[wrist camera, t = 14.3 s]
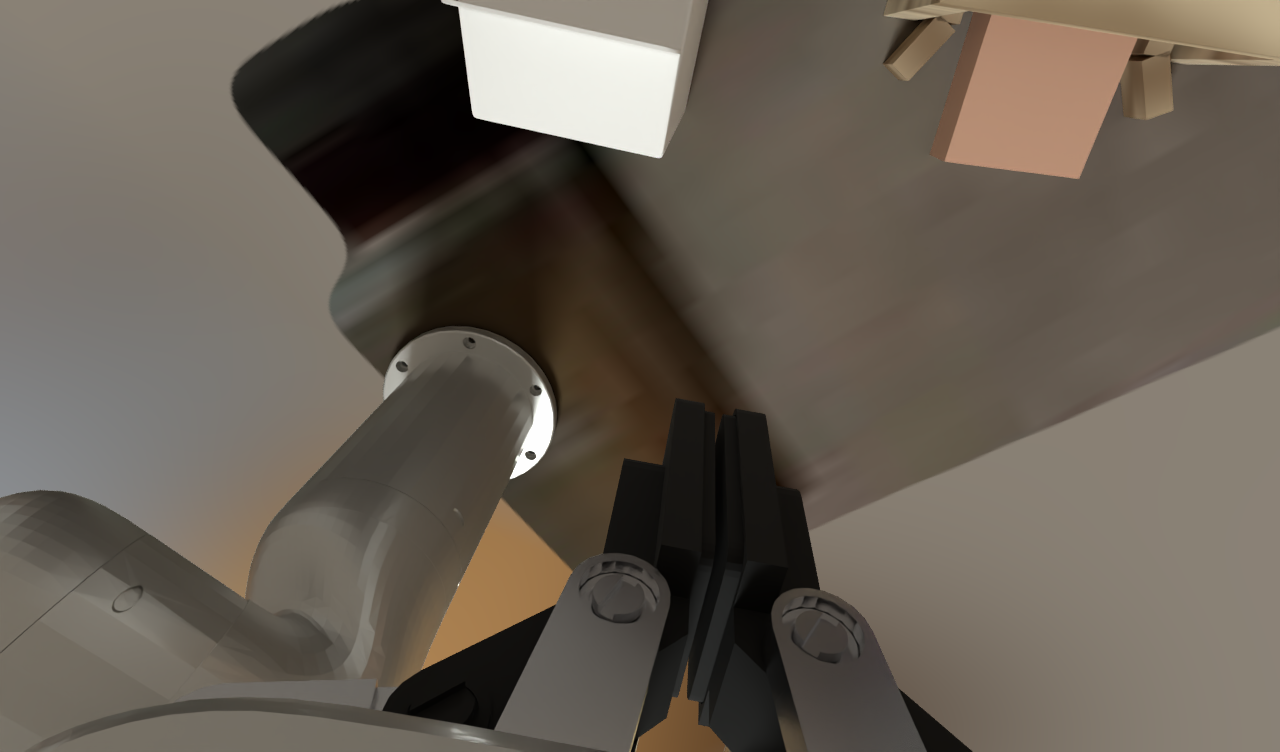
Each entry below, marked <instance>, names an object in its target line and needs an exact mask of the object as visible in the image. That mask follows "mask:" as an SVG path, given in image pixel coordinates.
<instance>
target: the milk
mask: <svg viewBox="0 0 1280 752" xmlns="http://www.w3.org/2000/svg"><path fill="white" fill-rule="evenodd" d="M441 2H442V3H445V4H448V5H453V6H457V7H458V8H459V15H460V23H461V31H462V39H463V46H464V54H465V62H466V69H467V77H468V85H469V92H470V100H471V108H472V113H473V116H474V117H475V118H478V119H482V120H486V121H491V122H496V123H500V124H505V125H509V126H514V127H518V128H523V129H528V130H532V131H537V132H541V133H546V134H550V135H555V136H559V137H564V138H569V139H573V140H578V141H582V142H587V143H591V144H596V145H600V146H605V147H610V148H614V149H619V150H623V151H628V152H632V153H637V154H642V155H646V156H651V157H655V158H661V157H662V156H663V154H664V152H665V150H666V148H667V146H668V144H669V142H670V140H671V138H672V136H673V134H674V132H675V130H676V128H677V126H678V124H679V122H680V120H681V118H682V116H683V114H684V112H685V109H686V105H687V100H688V95H689V91H690V86H691V81H692V76H693V72H694V67H695V62H696V57H697V53H698V48H699V43H700V38H701V34H702V29H703V24H704V19H705V15H706V10H707V5H708V0H458V1H456V0H441Z"/></svg>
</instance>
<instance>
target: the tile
mask: <svg viewBox="0 0 1280 752" xmlns="http://www.w3.org/2000/svg"><path fill="white" fill-rule="evenodd" d="M1137 39H1138V38H1135V37H1128V36H1122V35H1116V34H1110V33H1103V32H1097V31H1091V30H1085V29H1078V28H1072V27H1066V26H1060V25H1054V24H1047V23H1041V22H1035V21H1029V20H1022V19H1016V18H1010V17H1004V16H997V15H991V14H985V13H979V12H973V16H972V19H971V22H970V25H969V29H968V32H967V35H966V39H965V42H964V45H963V48H962V52H961V55H960V58H959V61H958V65H957V68H956V71H955V74H954V78H953V81H952V84H951V87H950V91H949V94H948V97H947V100H946V104H945V107H944V110H943V113H942V117H941V120H940V123H939V126H938V130H937V133H936V136H935V139H934V143H933V146H932V149H931V152H930V155H931V156H934V157H936V158H938V159H940V160H942V161H945V162H952V163H960V164H968V165H975V166H983V167H991V168H999V169H1006V170H1014V171H1022V172H1029V173H1037V174H1045V175H1053V176H1060V177H1068V178H1076V179H1079V177H1080V175H1081V172H1082V170H1083V168H1084V165H1085V163H1086V160H1087V158H1088V156H1089V153H1090V151H1091V148H1092V146H1093V144H1094V141H1095V139H1096V137H1097V134H1098V132H1099V129H1100V127H1101V125H1102V122H1103V120H1104V117H1105V115H1106V113H1107V110H1108V108H1109V105H1110V103H1111V101H1112V98H1113V96H1114V94H1115V91H1116V89H1117V86H1118V84H1119V82H1120V79H1121V77H1122V74H1123V72H1124V70H1125V67H1126V65H1127V62H1128V60H1129V58H1130V55H1131V53H1132V51H1133V48H1134V46H1135V43H1136V41H1137Z"/></svg>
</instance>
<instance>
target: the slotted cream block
mask: <svg viewBox="0 0 1280 752" xmlns="http://www.w3.org/2000/svg"><path fill="white" fill-rule="evenodd" d="M966 11H972V12H979V13H985V14H991V15H997V16H1004V17H1010V18H1016V19H1022V20H1029V21H1035V22H1041V23H1047V24H1054V25H1060V26H1066V27H1072V28H1078V29H1085V30H1091V31H1097V32H1103V33H1110V34H1116V35H1122V36H1128V37H1135V38H1138V39H1137V41H1136V43H1135V46H1134V48H1133V51H1132V53H1131V55H1130V58H1129V60H1128V62H1127V65H1126V67H1125V70H1124V72H1123V74H1122V77H1121V79H1120V81H1121V91H1122V102H1123V113H1124V117H1130V118H1136V119H1143V120H1148V119H1151V118H1153V117H1156V116H1159V115H1162V114H1164V113H1167V112H1170V111H1173V96H1172V80H1171V64H1170V62H1174V63H1180V64H1203V65H1258V66H1280V0H888V1H887V4H886V8H885V11H884V15H883V16H888V17H895V18H901V19H907V20H913V21H914V20H920V19H924V20H923V21H922V22H921V23H920V24H919V25H918V26H917V27H916V28H915V29H914V31H913V32H912V33H911V34H910V35H909V36H908V37H907V38H906V39H905V40H904V42H903V43H902V44H901V45H900V46H899V47H898V48H897V49H896V50H895V51H894V53H893V54H892V55H891V56H890V57H889V58H888V59H887V60H886V61H885V62H884V63H883V65H884V66H885V67H886V68H887V69H888V70H889V71H890V72H891V73H892V74H893V75H894V76H895V77H896V78H897V79H898V80H904V81H909V80H910V79H911V78H912V77H913V76H914V75H915V73H916V72H917V71H918V70H919V69H920V68H921V67H922V66H923V65H924V64H925V63H926V62H927V61H928V60H929V59H930V58H931V57H932V55H933V54H934V53H935V52H936V51H937V50H938V49H939V48H940V47H941V46H942V45H943V44H944V43H945V42H946V41H947V40H948V39H949V37H950V36H951V35H952V34H953V33H954V32H955V30H954V29H953V28H952V27H951V26H950V25H957V24H960V22H961V19H962V16H963V13H964V12H966Z"/></svg>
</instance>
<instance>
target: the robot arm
mask: <svg viewBox="0 0 1280 752" xmlns="http://www.w3.org/2000/svg"><path fill="white" fill-rule="evenodd" d="M471 338H473V339H474V340H475V341H473V340H472V339H471ZM536 385H537V386H539V387H537V386H536ZM383 400H384V401H383V403H382V404H381V405H380V406H379V407H378V408H377V409H376V410H375V411H374V412H373V413H372V414H371V415H370V416H369V417H368V418H367V419H366V420H365V421H364V423H363V424H362V425H361V426H360V427H359V428H358V429H357V430H356V431H355V432H354V433H353V434H352V435H351V436H350V437H349V438H348V439H347V440H346V442H344V444H343V445H342V446H341V447H340V448H339V449H338V450H337V451H336V452H335V453H334V454H333V455H332V456H331V457H330V458H329V459H328V460H327V461H326V463H325V464H324V465H323V466H322V467H321V468H320V469H319V470H318V471H317V472H316V473H315V474H314V475H313V476H312V477H311V478H310V480H308V481H307V482H306V484H305V485H304V486H303V487H302V488H301V489H300V490H299V491H298V492H297V493H296V494H295V495H294V496H293V497H292V498H291V499H290V500H289V501H288V502H287V503H286V505H285V506H284V507H283V508H282V509H281V510H280V511H279V512H278V514H277V515H276V516H275V517H274V519H273V520H272V521H271V522H270V524H269V525H268V527H267V529H266V530H265V532H264V534H263V536H262V537H261V540H260V542H259V544H258V546H257V549H256V552H255V554H254V557H253V560H252V563H251V567H250V571H249V576H248V581H247V587H246V595H245V596H246V597H245V599H244V598H243V597H241V596H240V595H238V594H237V593H235V592H234V591H232V590H231V589H230V588H228V587H226V586H225V585H224V584H222V583H221V582H219V581H218V580H217V579H215V578H213V577H212V576H211V575H209V574H208V573H206V572H205V571H203V570H202V569H200V568H199V567H197V566H196V565H195V564H193V563H191V562H190V561H189V560H187V559H186V558H184V557H183V556H181V555H180V554H178V553H177V552H176V551H174V550H172V549H171V548H170V547H168V546H167V545H165V544H164V543H162V542H161V541H159V540H158V539H156V538H155V537H153V536H152V535H150V534H148V533H147V532H146V531H144V530H143V529H141V528H139V527H138V526H136V525H135V524H134V523H132V522H131V521H129V520H128V519H126V518H124V517H122V516H121V515H119V514H117V513H116V512H114V511H112V510H110V509H109V508H107V507H106V506H103V505H101V504H99V503H97V502H95V501H93V500H90V499H87V498H85V497H82V496H79V495H76V494H72V493H67V492H63V491H48V490H37V491H29V492H21V493H16V494H12V495H9V496H5V497H1V498H0V752H636V749H637V744H638V740H639V737H640V736H641V735H643V734H644V733H646V732H647V731H649V730H650V729H651V728H653V727H654V726H656V725H657V724H658V723H660V722H661V721H663V720H664V719H666V717H667V713H668V709H669V706H670V702H671V698H672V697H678V695H679V691H680V687H681V684H682V680H683V676H684V672H685V669H686V665H687V661H688V685H687V698H688V700H693V701H698V702H699V718H698V721H699V722H698V724H699V725H703V726H708V727H710V728H711V729H712V730H713V731H714V732H715V734H716V735H717V736H718V737H719V738H720V739H721V740H722V741H723V743H724V744H725V745H726V746H725V749H724V752H972V751H971V750H970V749H969V748H968V747H967V746H965V745H964V744H963V743H962V742H961V741H960V740H958V739H957V738H956V737H955V736H954V735H952V734H951V733H950V732H949V731H948V730H947V729H946V728H944V727H943V726H942V725H941V724H940V723H939V722H937V721H936V720H935V719H934V718H933V717H931V716H930V715H929V714H928V713H927V712H926V711H924V710H923V709H922V708H921V707H920V706H919V705H918V704H916V703H915V702H914V701H913V700H911V699H910V698H909V697H908V696H907V695H906V694H905V693H903V692H902V691H901V690H900V689H899V688H898V687H897V684H896V682H895V680H894V677H893V675H892V673H891V671H890V669H889V666H888V664H887V662H886V660H885V658H884V655H883V653H882V651H881V649H880V646H879V644H878V642H877V640H876V638H875V635H874V633H873V631H872V629H871V628H870V626H869V624H868V623H867V621H866V620H865V618H864V617H863V616H862V615H861V614H860V613H859V612H858V611H857V610H856V609H855V608H854V607H853V606H851V605H850V604H848V603H847V602H845V601H844V600H842V599H841V598H839V597H837V596H835V595H832V594H830V593H827V592H825V591H822V590H820V587H819V582H818V577H817V572H816V567H815V562H814V557H813V552H812V547H811V542H810V537H809V532H808V527H807V522H806V517H805V512H804V507H803V502H802V497H801V494H800V492H799V491H798V490H797V489H791V488H786V487H780V486H776V482H775V475H774V468H773V461H772V455H771V448H770V441H769V434H768V427H767V421H766V416H765V414H762V413H756V412H750V411H745V410H739V409H735V411H734V413H733V416H729V415H724V414H723V416H722V419H721V422H720V427H719V431H718V435H717V439H716V443H715V413H713V412H707V411H705V404H704V403H700V402H694V401H688V400H683V399H677V398H676V400H675V404H674V409H673V414H672V419H671V424H670V429H669V434H668V440H667V445H666V450H665V455H664V460H663V465H658V464H653V463H647V462H641V461H636V460H630V459H625V458H624V461H623V466H622V470H621V475H620V479H619V484H618V488H617V493H616V498H615V502H614V507H613V511H612V516H611V520H610V525H609V529H608V534H607V539H606V543H605V548H604V552H603V554H600V555H597V556H594V557H591V558H588V559H587V560H585V561H584V562H582V563H581V564H579V565H578V566H577V567H576V569H575V570H574V571H573V573H572V574H571V575H570V577H569V580H568V582H567V584H566V586H565V587H564V590H563V592H562V593H561V596H560V598H559V600H558V602H557V604H556V605H554V606H552V607H550V608H548V609H546V610H544V611H542V612H540V613H538V614H536V615H534V616H531V617H530V618H528V619H526V620H523V621H521V622H519V623H517V624H515V625H513V626H511V627H509V628H507V629H505V630H503V631H501V632H499V633H497V634H495V635H493V636H491V637H489V638H487V639H484V640H482V641H481V642H479V643H476V644H475V645H472V646H470V647H468V648H466V649H464V650H462V651H460V652H458V653H456V654H454V655H452V656H450V657H448V658H446V659H444V660H442V661H440V662H437V663H435V664H433V665H431V666H429V667H427V668H425V669H423V670H421V669H422V666H423V664H424V661H425V659H426V656H427V654H428V651H429V649H430V646H431V644H432V642H433V640H434V638H435V635H436V633H437V631H438V629H439V626H440V624H441V622H442V620H443V618H444V615H445V613H446V611H447V609H448V607H449V605H450V603H451V601H452V599H453V596H454V594H455V592H456V590H457V588H458V586H459V584H460V582H461V579H462V577H463V575H464V573H465V571H466V569H467V567H468V565H469V563H470V561H471V559H472V556H473V554H474V552H475V550H476V548H477V546H478V544H479V542H480V540H481V538H482V536H483V534H484V532H485V529H486V527H487V525H488V523H489V521H490V519H491V517H492V515H493V513H494V511H495V509H496V506H497V504H498V502H499V500H500V498H501V496H502V494H503V492H504V490H505V488H506V486H507V484H508V481H509V479H512V478H515V477H517V476H519V475H521V474H523V473H525V472H527V471H528V470H530V469H531V468H532V467H533V466H535V465H536V464H537V463H538V462H539V461H540V459H541V458H542V457H543V456H544V454H545V453H546V451H547V449H548V447H549V445H550V443H551V441H552V438H553V435H554V432H555V429H556V422H557V408H556V400H555V397H554V394H553V391H552V388H551V385H550V383H549V381H548V379H547V378H546V376H545V374H544V372H543V371H542V369H541V368H540V367H539V366H538V365H537V363H536V362H535V361H534V360H533V359H532V357H530V356H529V355H528V354H527V353H526V352H525V351H523V350H522V349H521V348H520V347H519V346H517V345H516V344H514V343H512V342H511V341H509V340H507V339H506V338H504V337H502V336H500V335H497V334H495V333H492V332H490V331H487V330H483V329H478V328H474V327H467V326H449V327H442V328H436V329H433V330H431V331H428V332H425V333H422V334H421V335H419V336H418V337H416V338H414V339H413V340H411V341H410V342H409V343H408V344H407V345H406V346H405V347H403V348H402V349H401V350H400V351H399V352H398V353H397V355H396V356H395V357H394V358H393V360H392V361H391V363H390V366H389V368H388V370H387V373H386V375H385V380H384V386H383ZM688 657H689V659H688Z"/></svg>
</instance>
